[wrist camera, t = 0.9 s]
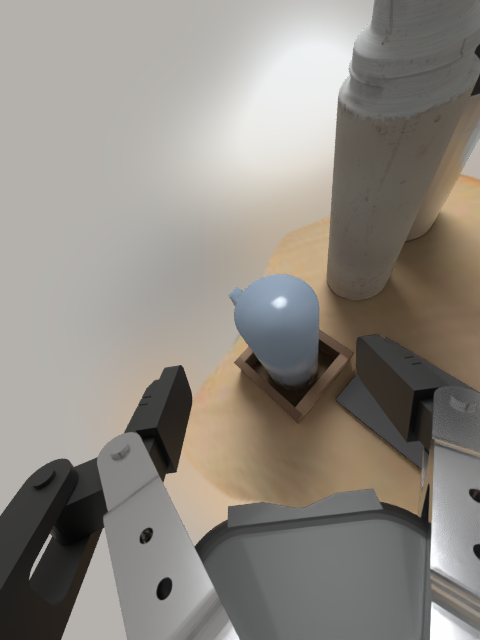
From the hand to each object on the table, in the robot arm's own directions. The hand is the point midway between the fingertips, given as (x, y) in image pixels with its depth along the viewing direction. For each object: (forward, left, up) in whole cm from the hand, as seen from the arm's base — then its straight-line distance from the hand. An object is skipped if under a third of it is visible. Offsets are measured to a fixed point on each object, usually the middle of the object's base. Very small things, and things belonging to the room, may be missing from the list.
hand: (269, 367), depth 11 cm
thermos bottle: (-20, -6, -21) cm, 30 cm away
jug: (-4, -6, -21) cm, 22 cm away
